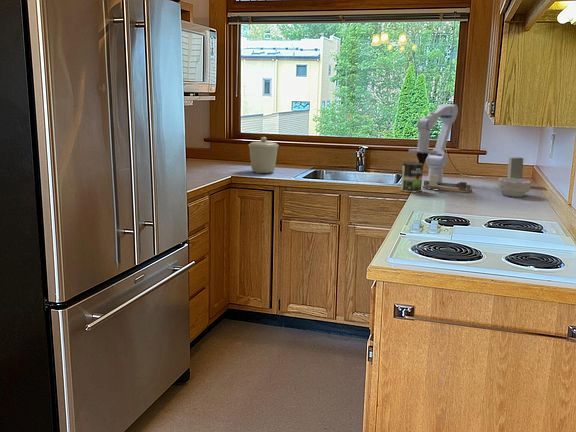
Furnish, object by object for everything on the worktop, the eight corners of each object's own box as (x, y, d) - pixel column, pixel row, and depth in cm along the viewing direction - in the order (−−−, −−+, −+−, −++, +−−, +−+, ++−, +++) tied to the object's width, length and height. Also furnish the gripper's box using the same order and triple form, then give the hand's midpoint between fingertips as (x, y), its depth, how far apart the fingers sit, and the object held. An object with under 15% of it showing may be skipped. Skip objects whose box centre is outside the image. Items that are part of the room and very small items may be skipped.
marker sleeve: (430, 185, 293) (431, 174, 291) (437, 185, 291) (438, 174, 290) (428, 186, 290) (429, 175, 288) (436, 186, 288) (437, 175, 286)
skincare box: (521, 187, 301) (525, 158, 297) (508, 186, 302) (511, 157, 299) (518, 184, 309) (522, 156, 305) (505, 183, 310) (508, 155, 307)
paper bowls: (532, 195, 279) (534, 179, 277) (525, 199, 266) (527, 183, 264) (500, 191, 287) (502, 176, 285) (493, 195, 275) (495, 179, 273)
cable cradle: (425, 185, 297) (426, 177, 296) (471, 190, 286) (472, 181, 285) (421, 188, 288) (421, 179, 287) (468, 193, 278) (469, 184, 277)
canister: (265, 169, 340) (266, 135, 335) (284, 173, 327) (285, 137, 322) (241, 171, 329) (242, 136, 324) (260, 175, 315) (260, 138, 311)
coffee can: (425, 192, 279) (427, 164, 276) (408, 192, 275) (410, 164, 272) (413, 188, 289) (415, 161, 285) (396, 189, 285) (398, 162, 282)
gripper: (407, 141, 288) (405, 167, 291) (435, 143, 281) (433, 169, 285) (411, 140, 294) (409, 165, 297) (438, 142, 288) (436, 167, 291)
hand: (421, 167), depth 291 cm, fingers closed
